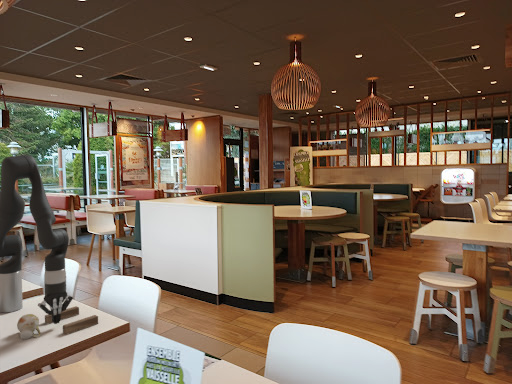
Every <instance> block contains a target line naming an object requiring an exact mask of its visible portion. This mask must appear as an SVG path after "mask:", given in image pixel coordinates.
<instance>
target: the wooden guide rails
mask: <svg viewBox="0 0 512 384" xmlns="http://www.w3.org/2000/svg"><path fill="white" fill-rule="evenodd" d="M78 315H80V307H78V306H73V307H67V308H66V310H65V311H63V312H61V321H62V320H65V319H68V318H71V317H76V316H78ZM44 323H45V324H47V325H49V324H51V323H52V324H54V323H53V322H52V315H49V314H45V315H44ZM97 324H99V316H98V315H96V314H93V315H90V316H87V317H85V318H81V319H78V320H75V321H71V322H68V323H66V324H65V323H64V324H62V333H63V334H65V335H69V334H72V333H75V332H78V331H80V330H84V329H86V328H90V327H92V326H95V325H97Z"/></svg>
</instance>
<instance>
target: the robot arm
mask: <svg viewBox="0 0 512 384" xmlns="http://www.w3.org/2000/svg"><path fill="white" fill-rule="evenodd" d="M23 179H29V181H30V184H31V194H30V199H29V203H28V204H29V205H28V207H29V211H30V213H31V216H32V218H33V221H34V223H35V224H36V233H37V239H38V242H39V245H40V246H41V247H42V248H43V249H45V250H50V253H48V254H47V255H46V256H45V257H44V275H43V277H44V278H43V280H44V297H43V300H42V301H41V302H40V303H39V302H38V303H37V307H38V308H40V309H41V310H42V311H43V312H44V313H46V315H48V314H49V315H52V322H53V323H52V324H54V325H57V324H60V322H61V321H62V320H61V312H63V311H65V310H66V309H68V308H69V306H70V304H71V302H72V301H73V299H74V298H73V296H72V295H68V292H67V271H66V255H67V251H68V247H69V241H70V238H69V234H68V233H67V230H65V229H63V228H57V229H56V228H55V229H53V227H52V225H53V224H55V223H56V221H57V218H56V216H55V213H54V211H53V209H52V207H51V205H50V202H49V200H48V198H47V194H46V190H45V187H44V183H43V179H42V176H41V172H40V168H39V166H38V163H37V161H36V160H35V158H34V157H33V156H32V155H30V154H21V155H13V156H7V157H5V158H4V159H2V162H1V170H0V258H6V257H10V258H9V259H7V260H6V261H5V262H3V263H0V313H12V312H16V311H19V310H21V309H22V308H23V274H22V273H23V272H22V270H23V269H22V267H23V266H22V265H23V264H22V263H23V262H22V258H23V256H22V255H23V240H22V238H21V235H19V234H10V235H7V234H8V233H9V232H10V231H11V230H12V229H13V228H14V227H16V226H17V225H18V224H19V223H20V222H21V221H22V219H23V217H24V214H25V209H26V208H25V207H26V202H25V199H24V198H23V197H22V196H21V194H20V193H19V192H18V191H17V189H16V183H17V181H19V180H23ZM47 305H48V306H49V308H50V309H49V308H48V307H47Z"/></svg>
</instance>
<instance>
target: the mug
mask: <svg viewBox="0 0 512 384" xmlns="http://www.w3.org/2000/svg"><path fill="white" fill-rule="evenodd" d="M39 320H40V319H39V316H37V315H35V314H32V313H28V314H24V315H22V316H21V317H19V319H18V321H17V324H16V325H17V326H16V327H17V330H18V331H19V337H20V339H22V340H28V339H30V338H31V337H33V338H40V337H41V335H42V332H41V331H40V327H39V323H40V321H39ZM35 331H36V332H37V333H38V334H36V333H34V332H35Z"/></svg>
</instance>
